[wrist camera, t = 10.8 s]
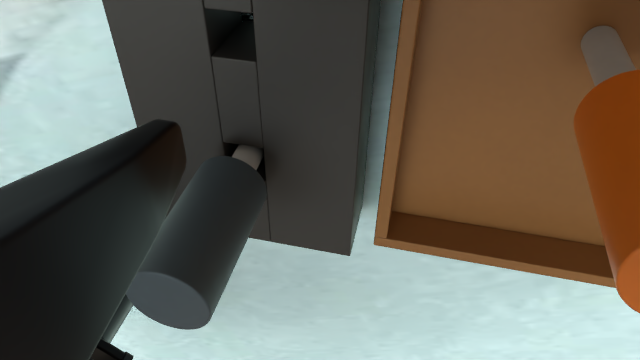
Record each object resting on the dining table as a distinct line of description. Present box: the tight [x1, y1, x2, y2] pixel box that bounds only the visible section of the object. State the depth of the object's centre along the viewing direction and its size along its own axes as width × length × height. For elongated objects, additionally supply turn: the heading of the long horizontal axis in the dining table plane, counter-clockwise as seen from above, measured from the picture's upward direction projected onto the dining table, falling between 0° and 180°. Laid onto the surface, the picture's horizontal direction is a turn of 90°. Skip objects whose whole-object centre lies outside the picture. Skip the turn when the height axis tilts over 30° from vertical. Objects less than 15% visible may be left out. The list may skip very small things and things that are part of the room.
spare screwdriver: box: [126, 145, 267, 329], centre depth 20 cm, size 3×3×11 cm
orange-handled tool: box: [574, 26, 640, 313], centre depth 14 cm, size 3×3×11 cm
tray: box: [374, 0, 640, 288], centre depth 17 cm, size 21×14×3 cm
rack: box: [102, 0, 381, 256], centre depth 19 cm, size 10×21×4 cm, turn 0°
